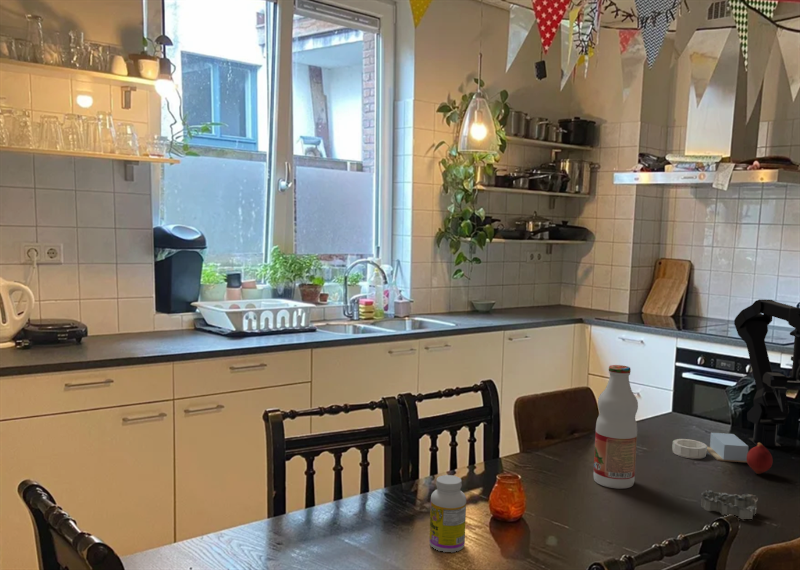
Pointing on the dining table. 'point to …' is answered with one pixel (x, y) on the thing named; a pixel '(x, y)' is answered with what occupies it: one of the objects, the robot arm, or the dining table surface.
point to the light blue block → (729, 446)
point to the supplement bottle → (447, 515)
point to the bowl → (689, 448)
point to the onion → (759, 459)
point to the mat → (719, 456)
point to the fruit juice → (616, 432)
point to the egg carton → (730, 504)
